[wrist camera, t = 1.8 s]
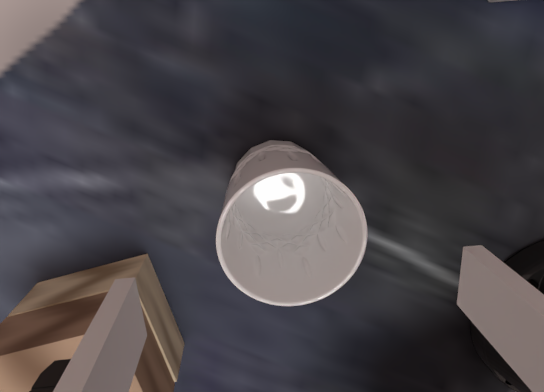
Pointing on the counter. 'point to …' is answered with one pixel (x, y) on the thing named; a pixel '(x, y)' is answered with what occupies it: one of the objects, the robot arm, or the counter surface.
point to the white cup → (288, 227)
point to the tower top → (66, 346)
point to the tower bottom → (101, 282)
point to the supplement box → (499, 0)
